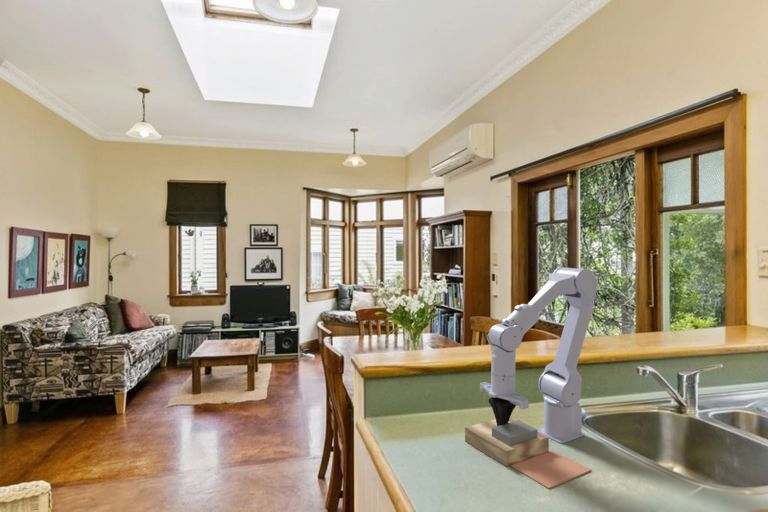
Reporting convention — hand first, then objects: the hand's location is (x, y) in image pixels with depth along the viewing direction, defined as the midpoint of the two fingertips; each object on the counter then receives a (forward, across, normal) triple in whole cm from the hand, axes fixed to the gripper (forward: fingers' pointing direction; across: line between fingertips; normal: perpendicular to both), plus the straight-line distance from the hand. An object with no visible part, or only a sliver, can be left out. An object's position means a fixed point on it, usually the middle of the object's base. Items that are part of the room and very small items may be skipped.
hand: (502, 427), depth 107 cm
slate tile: (+1, +4, 0) cm, 4 cm away
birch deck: (+4, +1, 0) cm, 4 cm away
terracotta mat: (+4, +14, +1) cm, 14 cm away
